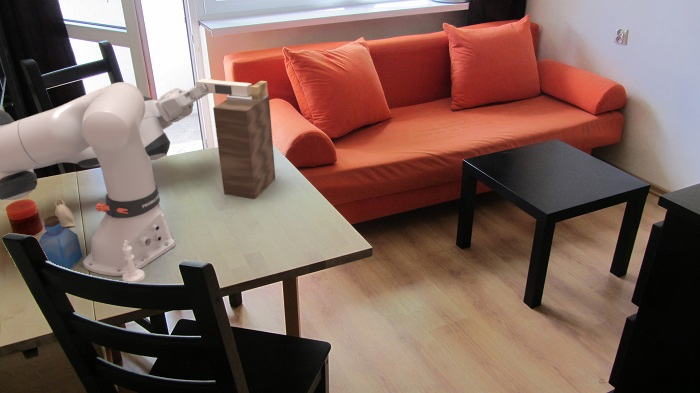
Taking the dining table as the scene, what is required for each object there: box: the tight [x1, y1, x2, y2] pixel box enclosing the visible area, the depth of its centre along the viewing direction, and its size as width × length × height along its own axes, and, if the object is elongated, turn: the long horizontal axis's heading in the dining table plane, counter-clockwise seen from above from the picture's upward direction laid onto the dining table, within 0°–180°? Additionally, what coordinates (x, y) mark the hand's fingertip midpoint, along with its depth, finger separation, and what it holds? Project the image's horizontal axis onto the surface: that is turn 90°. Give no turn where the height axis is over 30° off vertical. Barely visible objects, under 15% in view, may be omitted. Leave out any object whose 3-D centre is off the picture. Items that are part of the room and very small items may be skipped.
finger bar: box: [195, 78, 253, 97], centre depth 162 cm, size 3×16×3 cm, turn 72°
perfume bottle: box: [38, 215, 84, 270], centre depth 132 cm, size 6×6×12 cm
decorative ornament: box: [54, 198, 76, 228], centre depth 151 cm, size 4×8×5 cm, turn 27°
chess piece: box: [121, 240, 146, 283], centre depth 127 cm, size 5×5×10 cm
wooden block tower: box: [212, 80, 276, 200], centre depth 163 cm, size 14×10×31 cm
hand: (210, 84), depth 163 cm, fingers closed on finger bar, 3 cm apart
